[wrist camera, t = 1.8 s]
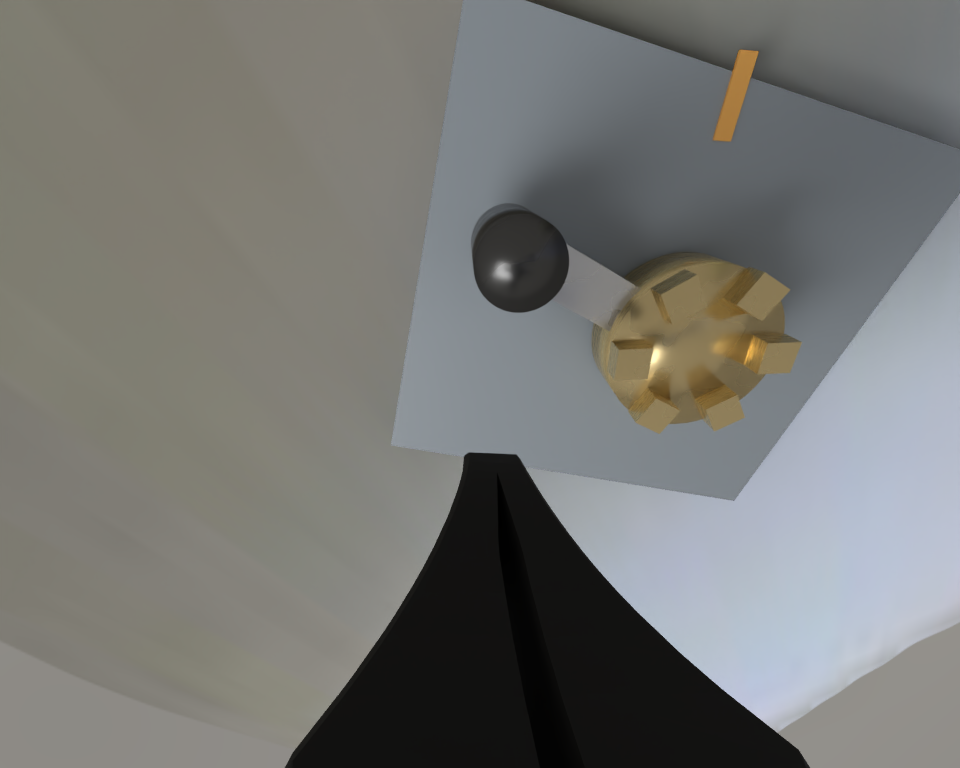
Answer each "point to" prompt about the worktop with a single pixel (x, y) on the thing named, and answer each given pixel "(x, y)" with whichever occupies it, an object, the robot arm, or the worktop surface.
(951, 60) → the worktop surface
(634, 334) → the spiked mace toy
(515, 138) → the grey board
